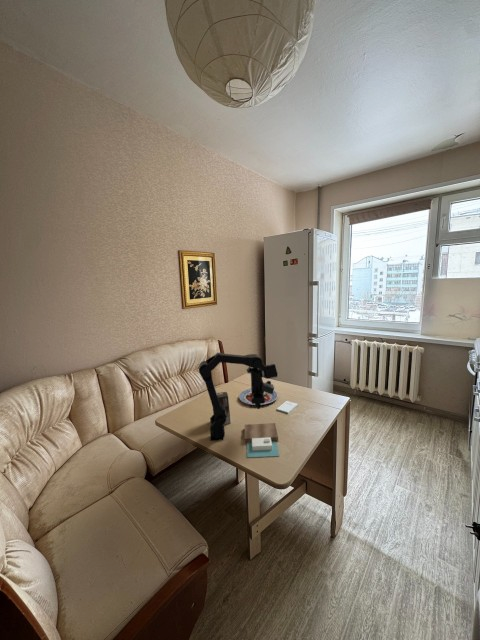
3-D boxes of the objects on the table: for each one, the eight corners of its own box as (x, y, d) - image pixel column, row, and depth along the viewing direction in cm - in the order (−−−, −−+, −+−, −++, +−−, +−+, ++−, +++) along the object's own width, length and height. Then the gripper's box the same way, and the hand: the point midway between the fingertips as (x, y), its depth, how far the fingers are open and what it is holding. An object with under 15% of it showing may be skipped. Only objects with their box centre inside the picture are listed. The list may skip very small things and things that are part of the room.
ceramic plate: (244, 410, 148) (244, 406, 147) (235, 393, 173) (235, 389, 172) (284, 403, 153) (283, 399, 153) (269, 388, 178) (269, 384, 178)
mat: (247, 457, 106) (247, 457, 106) (247, 443, 116) (247, 442, 116) (279, 456, 106) (279, 455, 106) (276, 441, 116) (276, 441, 116)
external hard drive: (276, 411, 146) (286, 402, 155) (288, 415, 140) (298, 406, 150) (276, 408, 145) (286, 400, 155) (288, 412, 140) (298, 403, 149)
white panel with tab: (252, 450, 110) (252, 445, 110) (252, 442, 116) (251, 437, 116) (272, 449, 110) (272, 444, 110) (270, 441, 116) (270, 436, 116)
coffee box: (229, 417, 141) (227, 391, 139) (230, 423, 134) (228, 396, 132) (213, 419, 139) (211, 393, 137) (214, 425, 133) (211, 398, 131)
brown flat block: (245, 442, 117) (244, 438, 116) (245, 428, 129) (244, 424, 128) (278, 441, 116) (278, 436, 116) (275, 427, 128) (275, 423, 128)
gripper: (274, 386, 113) (276, 417, 115) (270, 372, 132) (272, 399, 134) (250, 387, 114) (252, 418, 116) (250, 373, 132) (252, 400, 134)
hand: (258, 408), depth 125 cm, fingers closed
